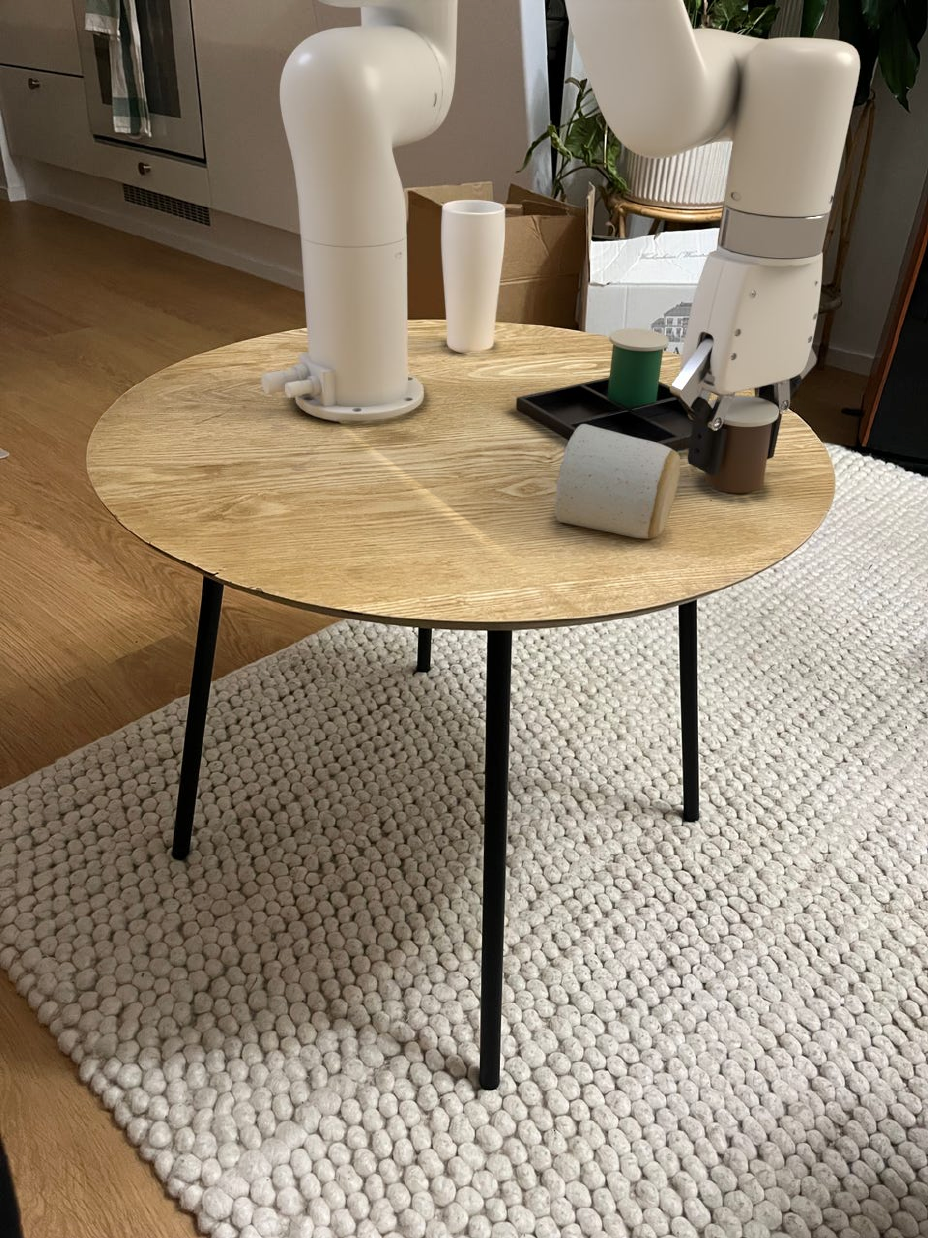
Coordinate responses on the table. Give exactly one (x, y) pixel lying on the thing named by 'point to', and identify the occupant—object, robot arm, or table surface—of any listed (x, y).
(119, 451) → the table surface
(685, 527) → the table surface
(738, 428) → the cylinder
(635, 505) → the ceramic mug
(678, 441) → the tray
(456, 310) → the drinking glass
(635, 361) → the cylinder
